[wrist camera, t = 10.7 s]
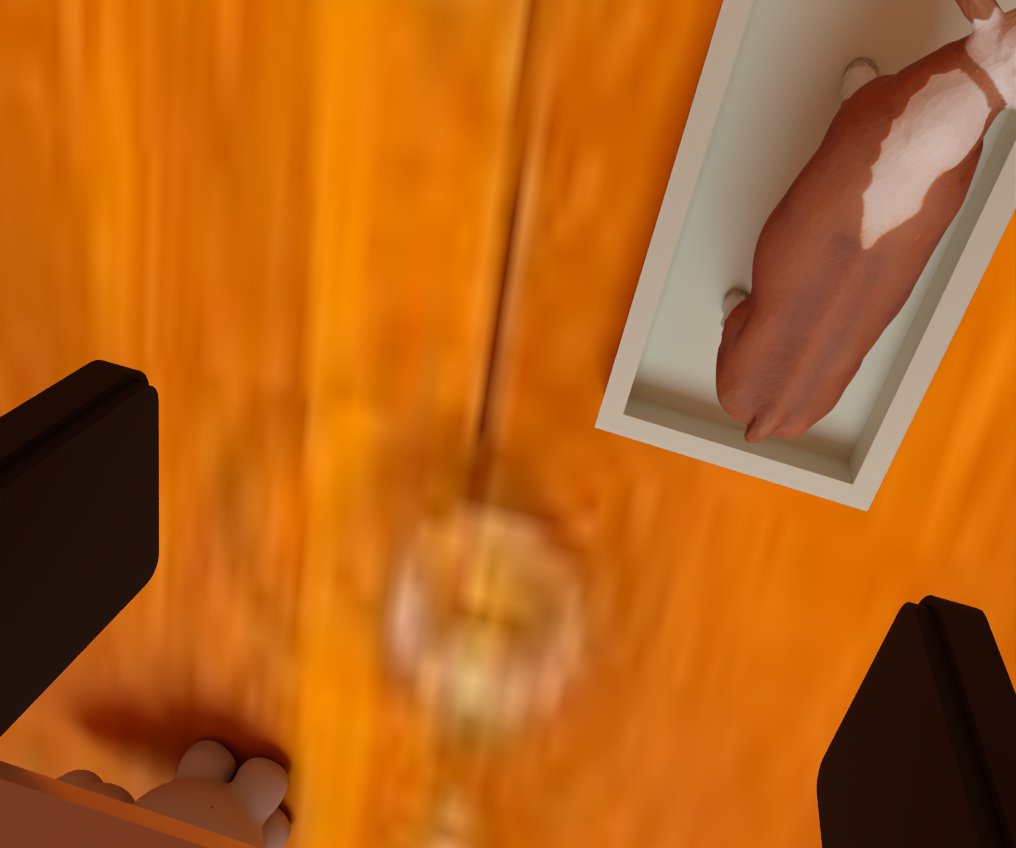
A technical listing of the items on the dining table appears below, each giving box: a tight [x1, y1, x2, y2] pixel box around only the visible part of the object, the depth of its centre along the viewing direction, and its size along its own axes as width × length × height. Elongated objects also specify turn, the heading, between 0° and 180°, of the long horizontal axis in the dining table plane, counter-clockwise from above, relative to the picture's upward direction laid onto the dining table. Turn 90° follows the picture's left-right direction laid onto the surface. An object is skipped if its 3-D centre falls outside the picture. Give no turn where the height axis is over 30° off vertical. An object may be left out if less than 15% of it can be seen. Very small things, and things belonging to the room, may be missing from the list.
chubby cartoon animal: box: [56, 740, 291, 848], centre depth 44 cm, size 8×12×9 cm, turn 81°
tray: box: [595, 0, 1016, 511], centre depth 28 cm, size 19×10×2 cm, turn 167°
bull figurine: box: [716, 0, 1016, 443], centre depth 24 cm, size 4×13×8 cm, turn 154°
